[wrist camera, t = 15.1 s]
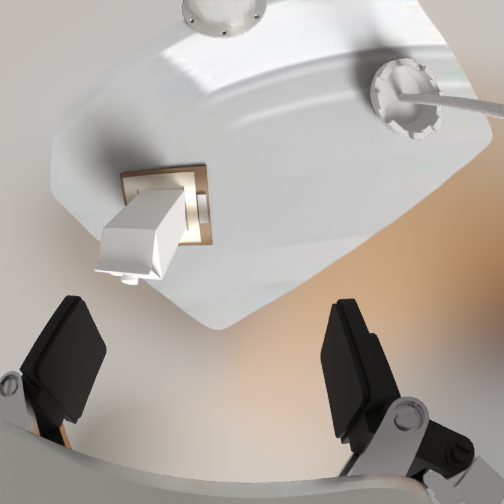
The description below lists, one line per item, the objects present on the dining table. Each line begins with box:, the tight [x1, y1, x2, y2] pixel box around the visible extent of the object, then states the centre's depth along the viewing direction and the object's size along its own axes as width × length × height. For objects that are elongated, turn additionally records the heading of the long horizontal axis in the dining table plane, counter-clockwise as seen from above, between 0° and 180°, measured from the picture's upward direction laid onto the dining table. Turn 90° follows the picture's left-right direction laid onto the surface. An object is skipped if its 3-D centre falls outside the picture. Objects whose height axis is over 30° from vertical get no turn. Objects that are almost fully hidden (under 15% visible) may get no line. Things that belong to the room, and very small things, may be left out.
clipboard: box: [120, 166, 212, 246], centre depth 45 cm, size 14×15×1 cm
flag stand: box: [370, 58, 504, 139], centre depth 22 cm, size 13×13×30 cm
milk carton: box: [95, 189, 186, 285], centre depth 36 cm, size 7×7×19 cm
